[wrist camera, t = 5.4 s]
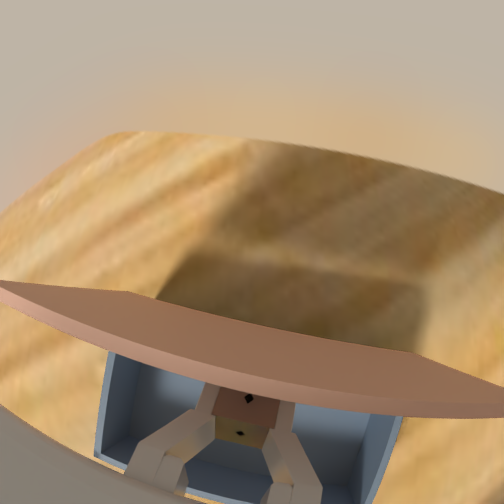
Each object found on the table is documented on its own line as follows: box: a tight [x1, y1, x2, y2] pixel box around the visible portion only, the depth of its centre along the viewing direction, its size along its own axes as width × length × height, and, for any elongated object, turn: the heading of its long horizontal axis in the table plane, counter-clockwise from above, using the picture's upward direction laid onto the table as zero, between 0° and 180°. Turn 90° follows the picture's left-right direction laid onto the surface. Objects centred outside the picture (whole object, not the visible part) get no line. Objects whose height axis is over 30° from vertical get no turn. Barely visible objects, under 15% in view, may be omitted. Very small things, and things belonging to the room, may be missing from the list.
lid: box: [0, 280, 504, 419], centre depth 12 cm, size 17×11×1 cm
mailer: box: [94, 351, 403, 504], centre depth 19 cm, size 18×11×5 cm, turn 77°
